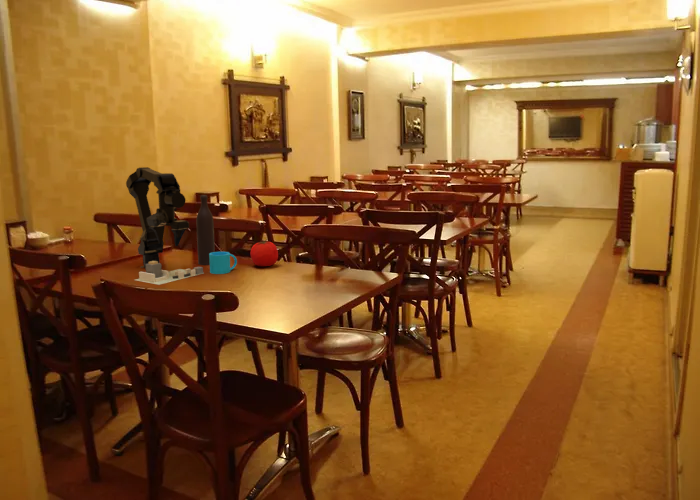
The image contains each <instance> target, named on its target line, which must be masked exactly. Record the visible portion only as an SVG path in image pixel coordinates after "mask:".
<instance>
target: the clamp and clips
mask: <svg viewBox="0 0 700 500" xmlns="http://www.w3.org/2000/svg"><path fill="white" fill-rule="evenodd" d="M184 270H185V271H186V274H188V273H190V276H192V277H194V276H195V277H196V276H199V275H202V273H203V274H204V267H202V266H195V267H193V268H192V269H191V268H186V269H184ZM196 274H197V275H196ZM198 274H199V275H198ZM177 275H178V279H180V280H182V279H181V278H184V272H181V271H175V276H177ZM184 279H185V278H184Z"/></svg>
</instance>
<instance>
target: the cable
mask: <svg viewBox="0 0 700 500" xmlns="http://www.w3.org/2000/svg"><path fill="white" fill-rule="evenodd" d="M188 276H190V273H188V274H184V277H188ZM176 278H178V275H177V276H173V279H176ZM188 278H189V277H188Z"/></svg>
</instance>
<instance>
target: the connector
mask: <svg viewBox="0 0 700 500" xmlns="http://www.w3.org/2000/svg"><path fill="white" fill-rule="evenodd" d="M145 265H146V268H145V272H146V273H152V274H155V278H159V277H162V272H161V270H162V263H158V261H150V262H149V263H148V264H145Z"/></svg>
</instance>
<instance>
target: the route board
mask: <svg viewBox="0 0 700 500" xmlns="http://www.w3.org/2000/svg"><path fill="white" fill-rule="evenodd" d="M175 271H181V272H184V274H186V271H185V269H182V268H178V269H174V270H168V273H169V279H166V280H162V281H158V282H149V281H144V280H139V278H136V279H134V281H137V282H143V283H148V284H154V285H158V286H160V285H165V284H167V283H170V282H175V281H179V280H182V279H187V278H191V277H193V276H188V277H184V278H181V279H178V278H176V279H173V276H175ZM202 274H204V272H203V273H202ZM202 274H201V275H202ZM199 275H200V274H198V275H197V274H196V276H199Z"/></svg>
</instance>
